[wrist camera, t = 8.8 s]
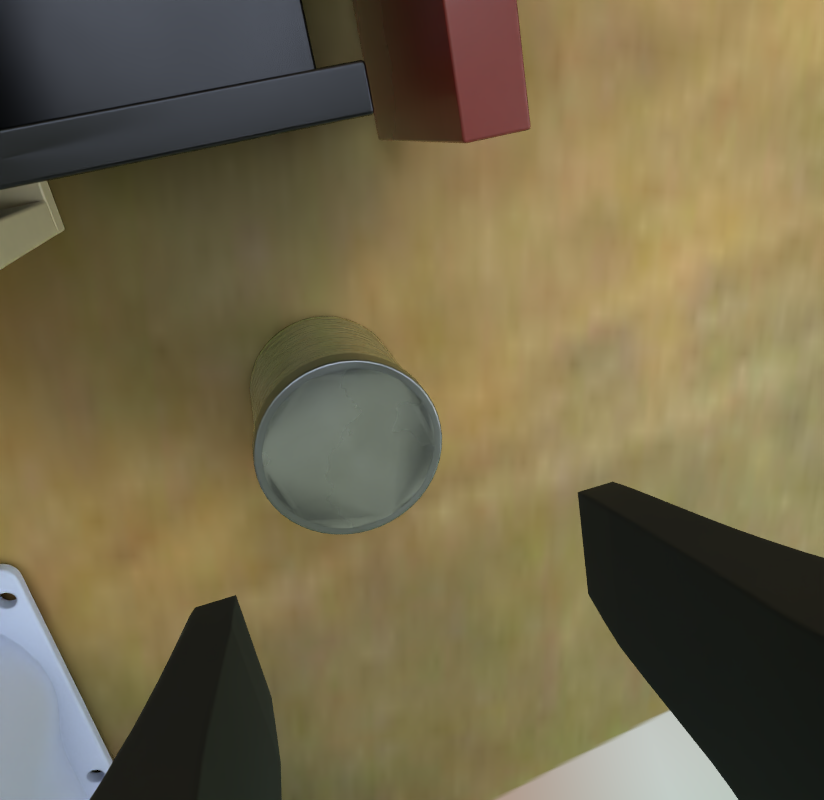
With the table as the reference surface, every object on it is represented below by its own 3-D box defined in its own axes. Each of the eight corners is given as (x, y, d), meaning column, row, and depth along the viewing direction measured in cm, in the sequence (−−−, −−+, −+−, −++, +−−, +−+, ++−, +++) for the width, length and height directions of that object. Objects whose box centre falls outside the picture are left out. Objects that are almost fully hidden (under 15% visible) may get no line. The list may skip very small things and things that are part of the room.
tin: (410, 433, 22) (456, 505, 18) (269, 473, 21) (281, 557, 17) (382, 295, 20) (424, 338, 16) (227, 333, 19) (229, 389, 15)
